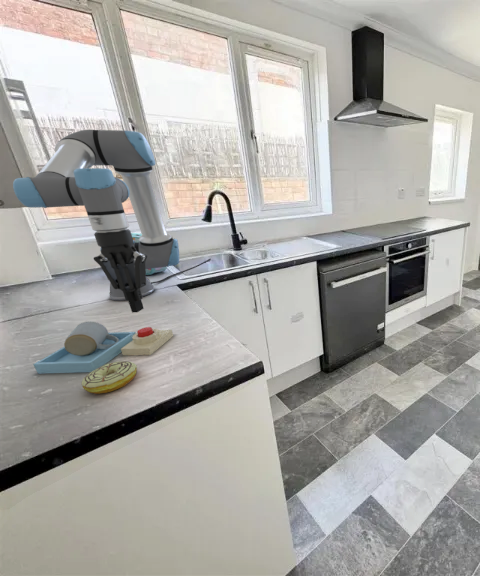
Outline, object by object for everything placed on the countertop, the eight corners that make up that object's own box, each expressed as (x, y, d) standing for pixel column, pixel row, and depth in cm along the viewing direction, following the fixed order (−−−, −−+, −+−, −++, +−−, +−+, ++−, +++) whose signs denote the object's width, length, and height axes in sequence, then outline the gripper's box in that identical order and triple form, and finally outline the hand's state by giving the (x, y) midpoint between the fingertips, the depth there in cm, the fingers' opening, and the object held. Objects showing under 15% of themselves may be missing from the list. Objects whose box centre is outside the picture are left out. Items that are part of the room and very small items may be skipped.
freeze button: (144, 332, 95) (142, 327, 95) (156, 331, 95) (154, 326, 95) (135, 338, 92) (134, 332, 91) (148, 337, 92) (146, 332, 91)
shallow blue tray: (91, 341, 97) (87, 333, 96) (138, 340, 98) (135, 331, 97) (37, 373, 82) (33, 364, 81) (94, 372, 82) (90, 362, 81)
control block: (148, 336, 100) (144, 325, 98) (173, 335, 100) (170, 324, 99) (122, 355, 90) (118, 343, 88) (150, 354, 90) (146, 342, 88)
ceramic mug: (67, 360, 86) (56, 336, 83) (80, 345, 93) (71, 323, 90) (114, 352, 90) (106, 328, 87) (123, 339, 97) (116, 317, 94)
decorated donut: (143, 365, 85) (139, 353, 83) (134, 388, 76) (129, 375, 75) (94, 376, 80) (89, 364, 79) (79, 402, 71) (73, 388, 70)
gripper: (74, 233, 78) (104, 316, 87) (126, 232, 79) (152, 315, 87) (98, 228, 85) (124, 305, 94) (146, 227, 86) (168, 304, 94)
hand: (138, 310), depth 90 cm, fingers closed
